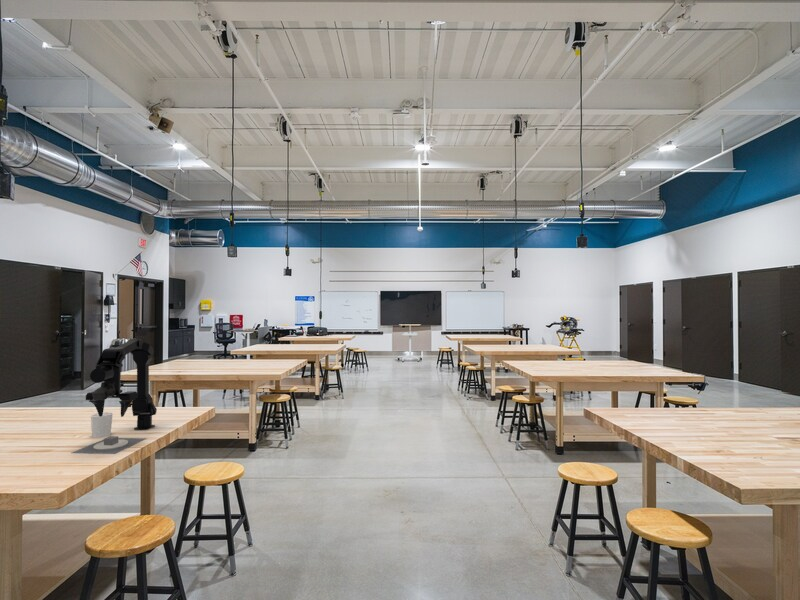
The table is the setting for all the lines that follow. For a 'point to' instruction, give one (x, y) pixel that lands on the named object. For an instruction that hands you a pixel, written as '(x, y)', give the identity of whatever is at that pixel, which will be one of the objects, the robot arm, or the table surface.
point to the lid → (110, 443)
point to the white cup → (101, 425)
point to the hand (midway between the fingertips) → (111, 416)
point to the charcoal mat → (111, 451)
